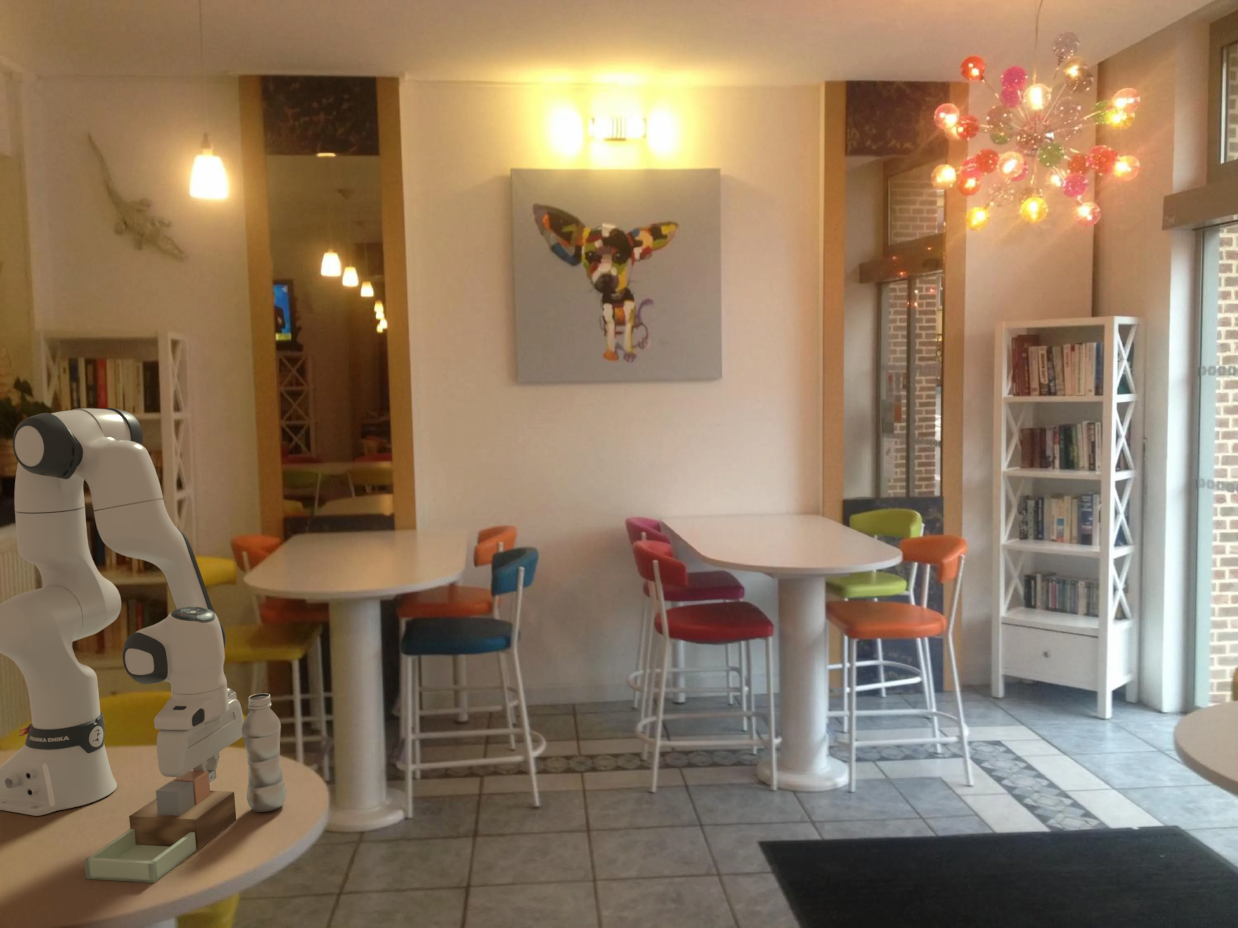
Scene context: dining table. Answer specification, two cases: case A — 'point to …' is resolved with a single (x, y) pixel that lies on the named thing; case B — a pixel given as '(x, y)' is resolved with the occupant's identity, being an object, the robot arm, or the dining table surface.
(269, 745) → the plastic bottle
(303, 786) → the dining table surface
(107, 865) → the tray
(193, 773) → the peach colored cube
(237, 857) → the dining table surface
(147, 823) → the brown wooden block
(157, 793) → the matte grey cube
